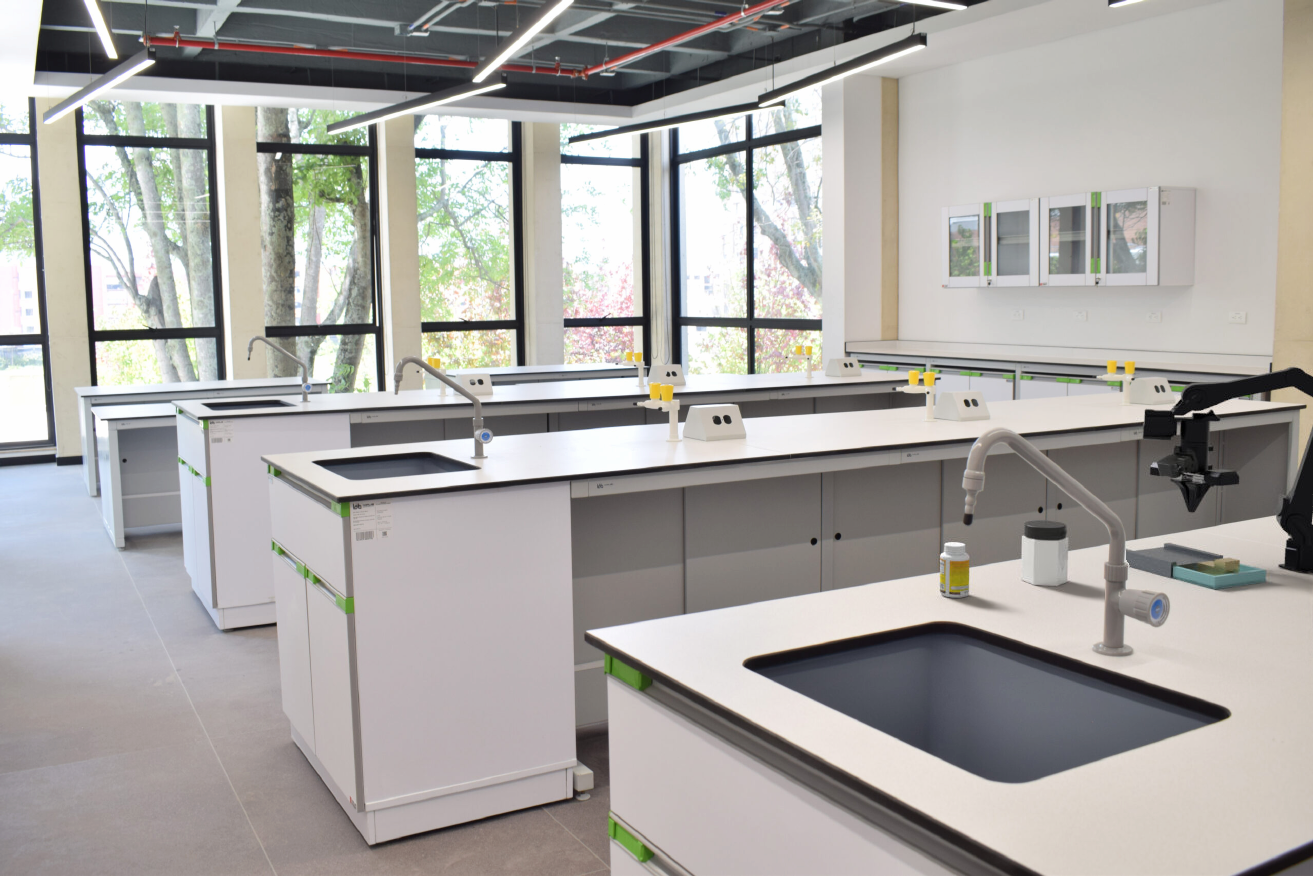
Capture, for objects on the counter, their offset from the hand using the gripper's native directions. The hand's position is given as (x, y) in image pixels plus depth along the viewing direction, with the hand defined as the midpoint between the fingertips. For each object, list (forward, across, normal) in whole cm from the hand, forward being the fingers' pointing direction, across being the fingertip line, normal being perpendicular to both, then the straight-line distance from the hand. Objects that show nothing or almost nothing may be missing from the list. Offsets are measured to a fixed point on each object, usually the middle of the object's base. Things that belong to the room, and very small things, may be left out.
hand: (1191, 512), depth 228 cm
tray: (+11, +14, -8) cm, 20 cm away
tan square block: (+10, +13, -8) cm, 18 cm away
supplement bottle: (+11, +1, -63) cm, 64 cm away
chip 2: (+8, +15, -8) cm, 19 cm away
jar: (+11, 0, -40) cm, 42 cm away
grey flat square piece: (+11, +2, -8) cm, 14 cm away
